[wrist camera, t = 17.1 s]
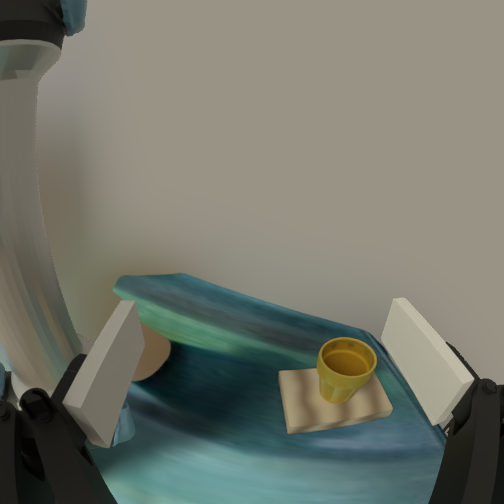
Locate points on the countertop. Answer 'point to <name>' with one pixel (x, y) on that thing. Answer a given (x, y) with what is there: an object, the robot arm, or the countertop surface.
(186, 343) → the countertop surface
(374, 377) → the birch stand
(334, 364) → the plant pot
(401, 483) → the countertop surface
